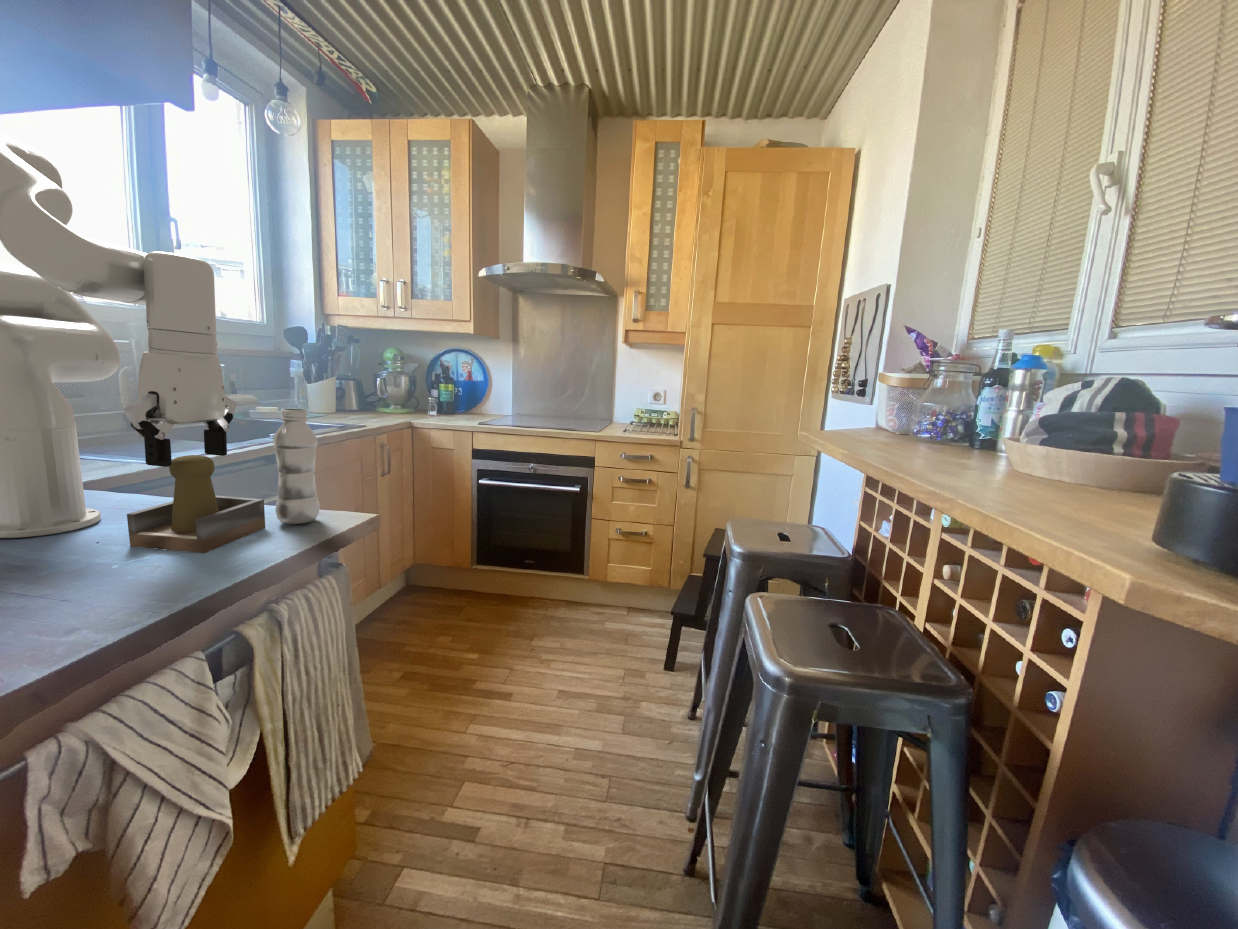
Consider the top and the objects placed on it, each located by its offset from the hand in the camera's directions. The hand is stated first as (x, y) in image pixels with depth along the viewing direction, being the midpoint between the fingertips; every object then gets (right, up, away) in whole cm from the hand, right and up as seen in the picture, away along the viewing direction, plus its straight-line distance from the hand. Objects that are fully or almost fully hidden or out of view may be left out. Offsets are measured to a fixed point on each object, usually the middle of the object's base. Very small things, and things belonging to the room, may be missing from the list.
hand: (189, 459), depth 75 cm
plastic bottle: (+8, -11, +12) cm, 19 cm away
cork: (0, -10, +2) cm, 11 cm away
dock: (0, -12, +3) cm, 12 cm away
